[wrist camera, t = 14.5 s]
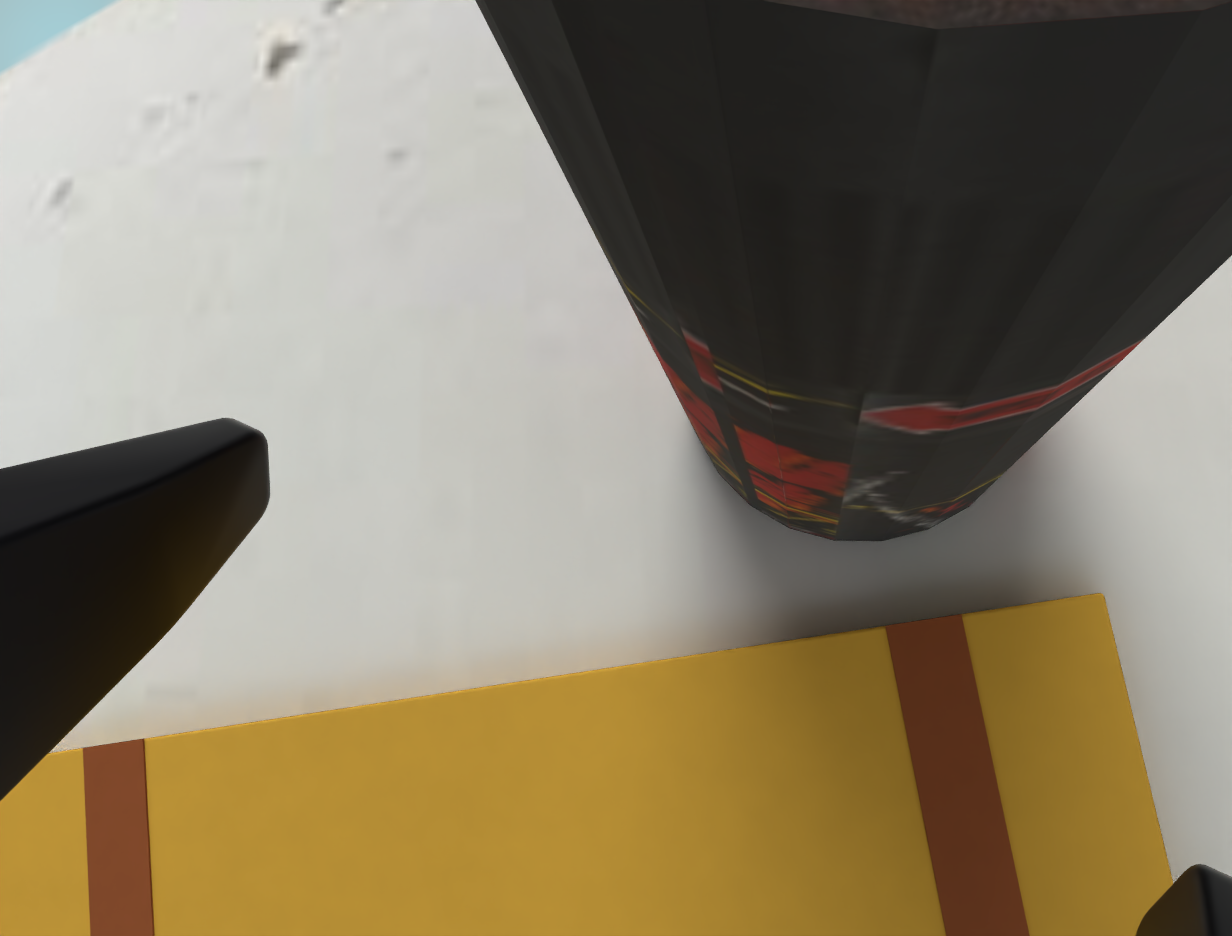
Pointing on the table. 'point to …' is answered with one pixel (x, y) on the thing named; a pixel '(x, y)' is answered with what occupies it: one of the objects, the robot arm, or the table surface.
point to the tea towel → (635, 802)
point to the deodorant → (886, 219)
